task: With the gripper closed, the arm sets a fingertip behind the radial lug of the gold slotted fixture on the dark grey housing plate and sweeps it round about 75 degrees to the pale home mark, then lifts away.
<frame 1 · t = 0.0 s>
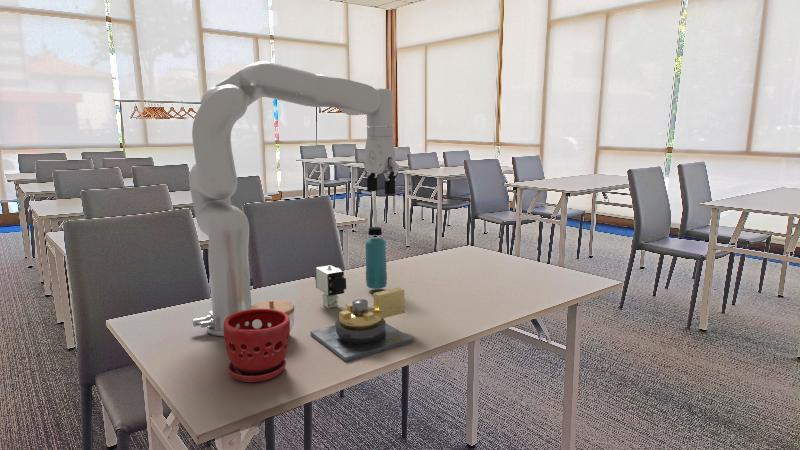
hand: (380, 192, 152), 31 cm above the table, tool pointing down, fingers open, 9 cm apart
gold slotted fixture: (372, 306, 126), point 7 cm above the table, hinge at 0.0°
pneumatic valve: (331, 306, 148), on the table
lidded jar: (273, 338, 126), on the table
plant pot: (259, 373, 108), on the table
beverage bottle: (376, 290, 162), on the table
housing: (360, 338, 125), on the table
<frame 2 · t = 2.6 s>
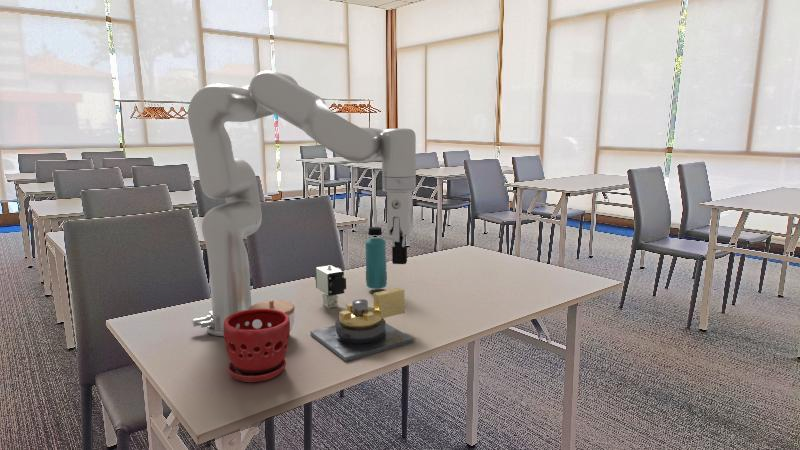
hand: (399, 262, 120), 19 cm above the table, tool pointing down, fingers closed
nothing on the table moved.
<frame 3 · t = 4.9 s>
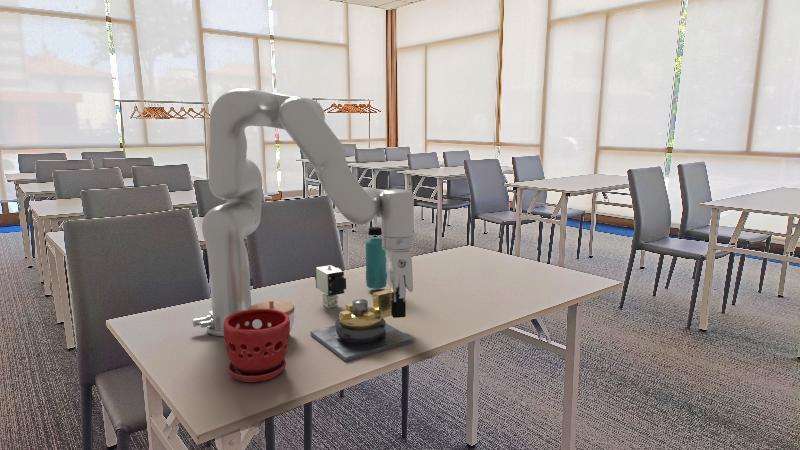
hand: (398, 316, 126), 5 cm above the table, tool pointing down, fingers closed
gold slotted fixture: (372, 306, 126), point 7 cm above the table, hinge at 2.0°, touching gripper
everything else where it was.
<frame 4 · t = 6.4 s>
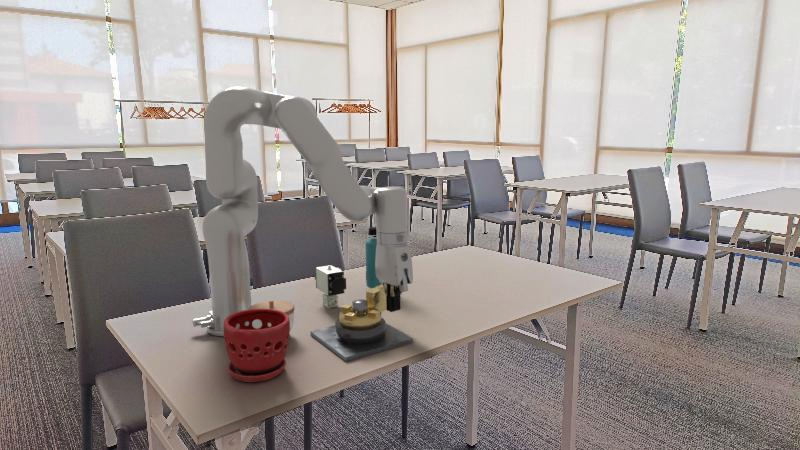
hand: (393, 309, 129), 5 cm above the table, tool pointing down, fingers closed
gold slotted fixture: (368, 305, 127), point 7 cm above the table, hinge at 26.2°, touching gripper
everything else where it was.
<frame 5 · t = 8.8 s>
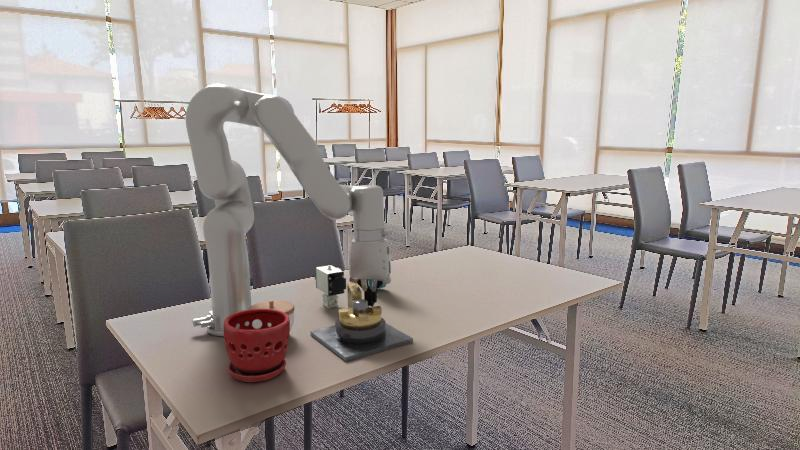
hand: (370, 304, 133), 5 cm above the table, tool pointing down, fingers closed
gold slotted fixture: (357, 305, 127), point 7 cm above the table, hinge at 70.0°, touching gripper
everything else where it was.
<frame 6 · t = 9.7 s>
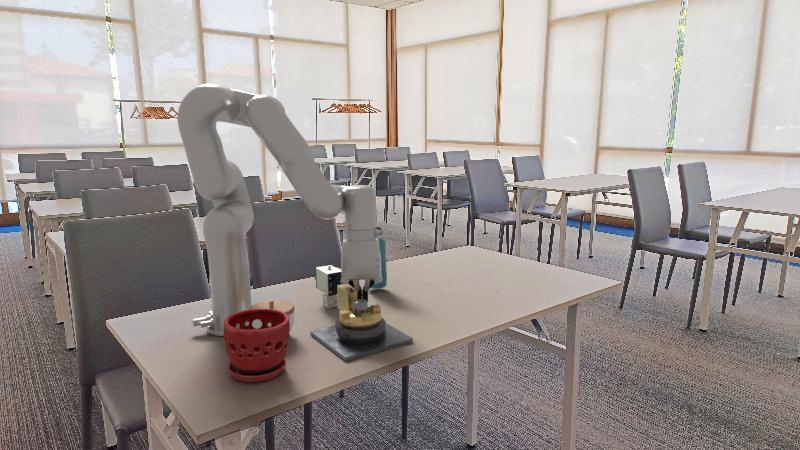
hand: (362, 304, 134), 5 cm above the table, tool pointing down, fingers closed
gold slotted fixture: (354, 305, 127), point 7 cm above the table, hinge at 83.2°, touching gripper
everything else where it was.
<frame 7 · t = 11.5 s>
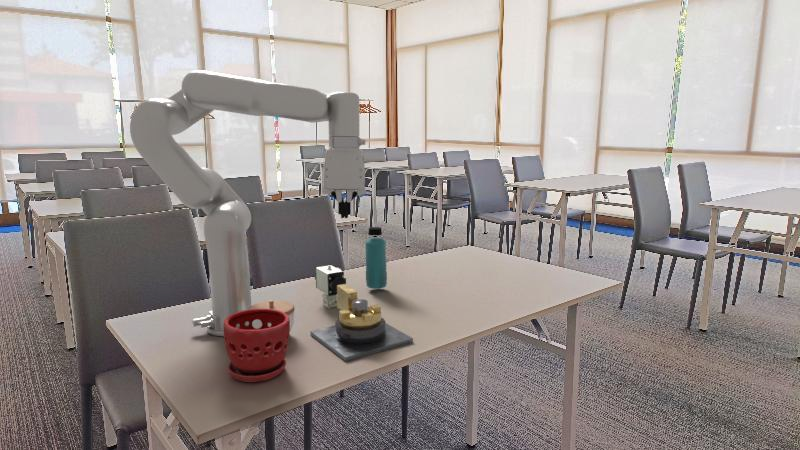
hand: (344, 217, 131), 28 cm above the table, tool pointing down, fingers closed
gold slotted fixture: (354, 305, 127), point 7 cm above the table, hinge at 83.4°
everything else where it was.
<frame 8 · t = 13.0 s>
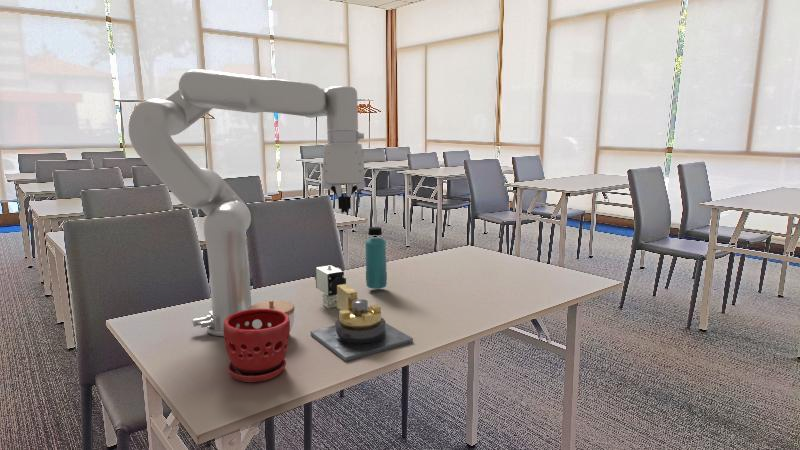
hand: (344, 211, 131), 29 cm above the table, tool pointing down, fingers closed
nothing on the table moved.
at the end: gold slotted fixture at +83° (first picture: +0°); the gripper is holding nothing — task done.
